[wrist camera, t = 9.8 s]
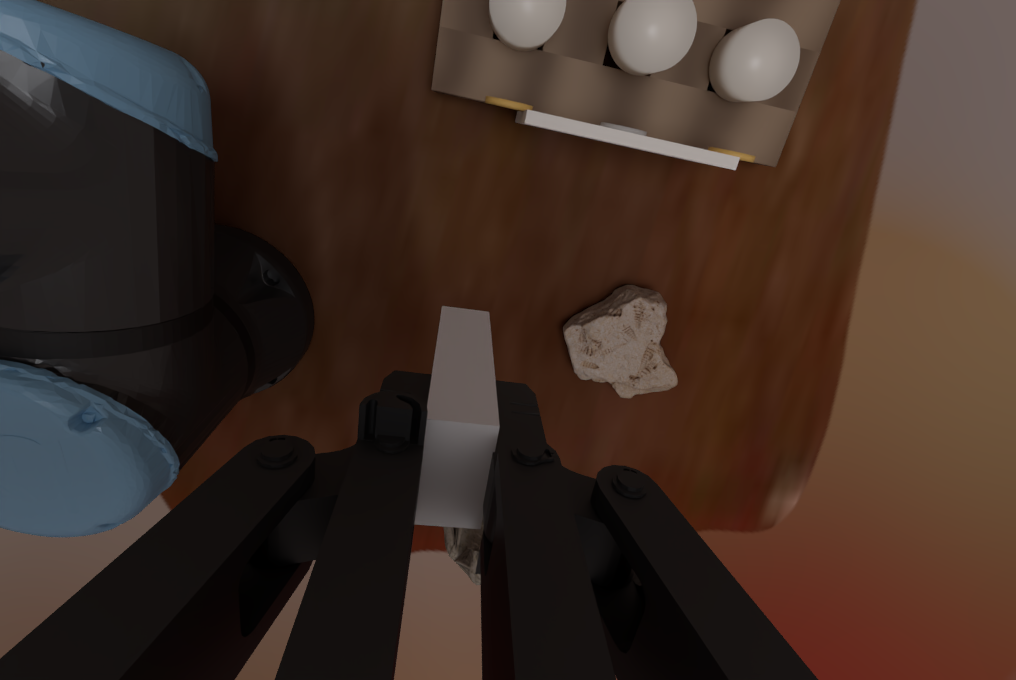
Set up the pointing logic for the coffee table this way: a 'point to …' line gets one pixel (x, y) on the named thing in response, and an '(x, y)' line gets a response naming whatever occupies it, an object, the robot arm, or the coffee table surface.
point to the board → (622, 96)
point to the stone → (622, 342)
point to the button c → (755, 61)
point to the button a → (525, 21)
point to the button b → (651, 34)
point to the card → (622, 136)
